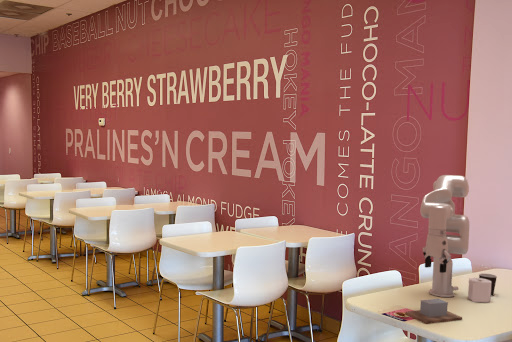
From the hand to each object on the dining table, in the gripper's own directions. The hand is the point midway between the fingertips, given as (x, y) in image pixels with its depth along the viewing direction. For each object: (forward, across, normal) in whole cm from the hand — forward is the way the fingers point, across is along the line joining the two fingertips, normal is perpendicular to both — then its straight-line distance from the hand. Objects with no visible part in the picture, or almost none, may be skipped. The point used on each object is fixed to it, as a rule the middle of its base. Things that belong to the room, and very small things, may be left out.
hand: (435, 269), depth 238 cm
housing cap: (+20, -2, +2) cm, 20 cm away
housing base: (+21, -2, +2) cm, 21 cm away
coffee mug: (+22, +22, -55) cm, 63 cm away
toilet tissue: (+22, +13, -41) cm, 48 cm away
